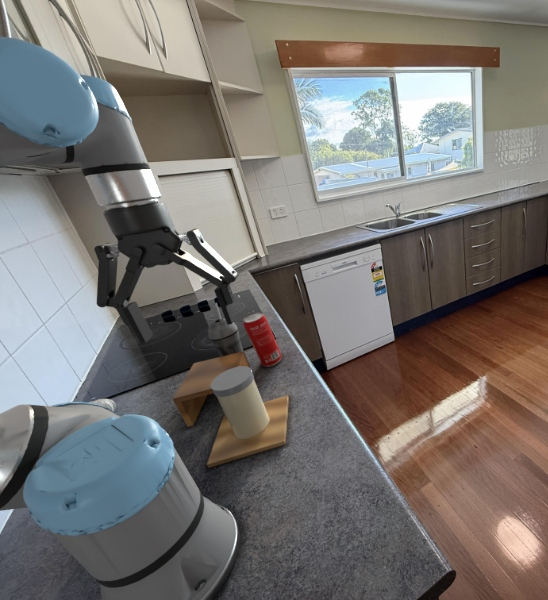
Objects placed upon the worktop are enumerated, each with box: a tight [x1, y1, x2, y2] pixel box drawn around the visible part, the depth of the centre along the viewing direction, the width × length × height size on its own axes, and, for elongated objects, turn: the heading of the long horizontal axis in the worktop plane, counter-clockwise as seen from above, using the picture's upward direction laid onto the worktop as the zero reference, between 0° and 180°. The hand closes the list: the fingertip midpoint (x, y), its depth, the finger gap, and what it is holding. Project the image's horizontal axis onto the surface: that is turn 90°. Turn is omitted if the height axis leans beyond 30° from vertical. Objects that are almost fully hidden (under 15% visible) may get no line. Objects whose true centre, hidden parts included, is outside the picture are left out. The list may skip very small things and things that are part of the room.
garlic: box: [87, 398, 117, 412], centre depth 75 cm, size 6×5×5 cm
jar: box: [211, 366, 270, 439], centre depth 63 cm, size 7×7×12 cm
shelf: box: [172, 350, 251, 428], centre depth 75 cm, size 14×12×8 cm
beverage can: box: [242, 311, 283, 368], centre depth 86 cm, size 6×6×15 cm
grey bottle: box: [207, 302, 244, 357], centre depth 84 cm, size 7×7×20 cm
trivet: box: [206, 395, 290, 469], centre depth 66 cm, size 14×14×1 cm
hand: (190, 330), depth 54 cm, fingers open, 13 cm apart
